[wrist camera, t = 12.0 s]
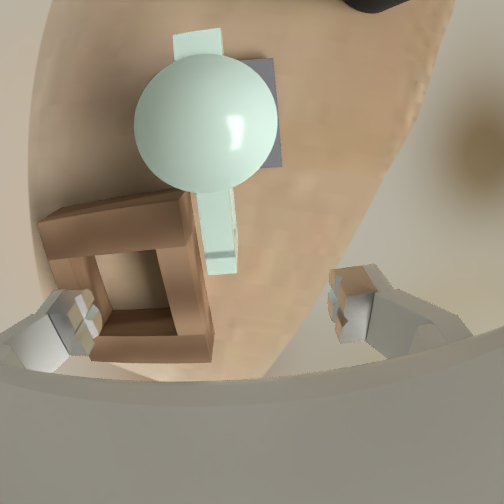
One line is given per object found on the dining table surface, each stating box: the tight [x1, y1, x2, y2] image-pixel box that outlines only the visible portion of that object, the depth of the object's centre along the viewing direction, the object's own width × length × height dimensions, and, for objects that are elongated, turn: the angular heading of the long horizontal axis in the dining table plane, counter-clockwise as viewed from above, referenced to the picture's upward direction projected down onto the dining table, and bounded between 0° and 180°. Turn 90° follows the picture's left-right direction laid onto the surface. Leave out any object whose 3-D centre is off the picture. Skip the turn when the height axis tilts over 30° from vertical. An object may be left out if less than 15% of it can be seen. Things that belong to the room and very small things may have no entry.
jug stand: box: [37, 188, 215, 363], centre depth 24 cm, size 14×12×4 cm
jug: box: [134, 28, 277, 275], centre depth 16 cm, size 11×6×9 cm, turn 4°
